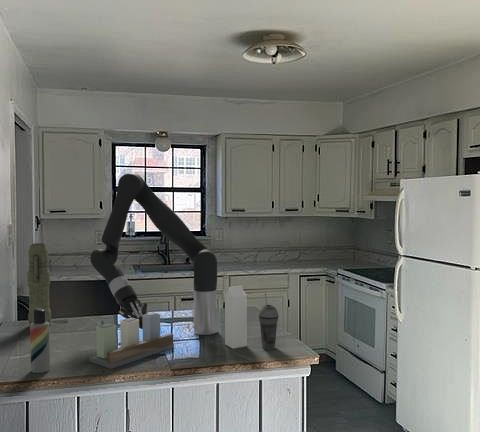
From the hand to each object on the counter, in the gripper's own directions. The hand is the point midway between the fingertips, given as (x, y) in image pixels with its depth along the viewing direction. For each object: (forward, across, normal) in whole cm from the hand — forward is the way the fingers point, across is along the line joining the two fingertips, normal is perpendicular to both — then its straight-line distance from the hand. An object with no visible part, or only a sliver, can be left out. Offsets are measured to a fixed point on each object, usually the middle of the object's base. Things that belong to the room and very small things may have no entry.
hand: (144, 327), depth 188 cm
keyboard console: (+8, -10, +1) cm, 13 cm away
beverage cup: (+32, +25, -23) cm, 46 cm away
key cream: (+6, -10, 0) cm, 12 cm away
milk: (+24, +20, -15) cm, 35 cm away
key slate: (+6, 0, 0) cm, 6 cm away
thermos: (-34, -10, +43) cm, 56 cm away
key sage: (+6, -20, 0) cm, 21 cm away
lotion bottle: (+1, -38, +8) cm, 39 cm away
